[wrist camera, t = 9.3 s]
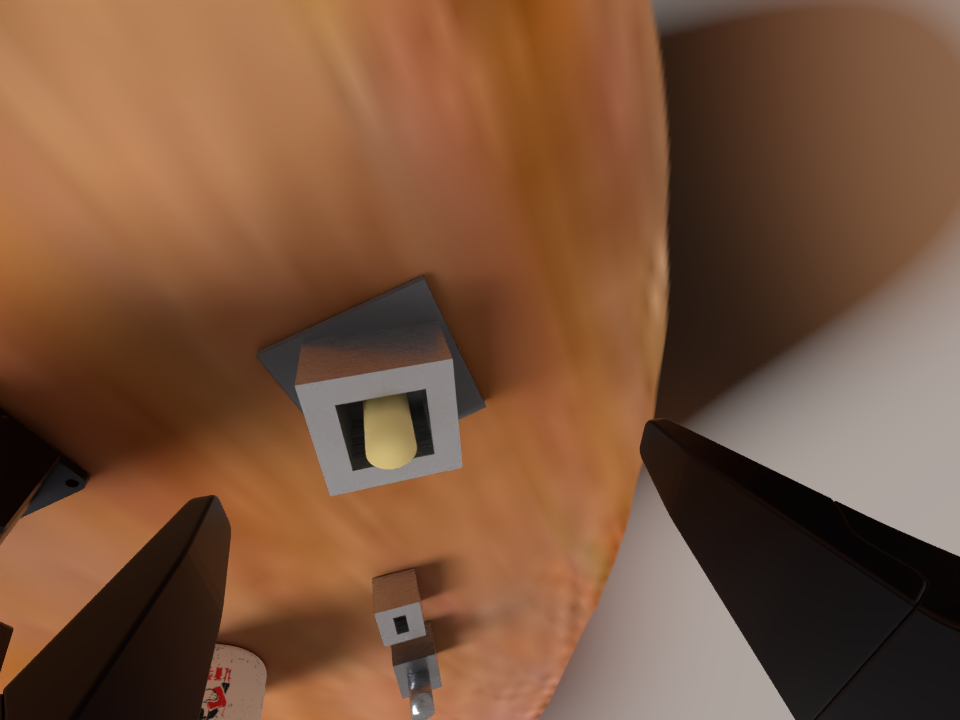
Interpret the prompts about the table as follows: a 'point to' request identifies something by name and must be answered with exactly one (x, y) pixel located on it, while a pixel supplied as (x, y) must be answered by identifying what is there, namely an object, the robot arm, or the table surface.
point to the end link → (371, 374)
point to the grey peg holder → (386, 415)
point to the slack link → (398, 607)
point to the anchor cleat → (417, 672)
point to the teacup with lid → (234, 685)
